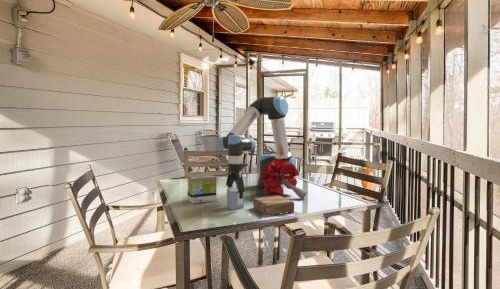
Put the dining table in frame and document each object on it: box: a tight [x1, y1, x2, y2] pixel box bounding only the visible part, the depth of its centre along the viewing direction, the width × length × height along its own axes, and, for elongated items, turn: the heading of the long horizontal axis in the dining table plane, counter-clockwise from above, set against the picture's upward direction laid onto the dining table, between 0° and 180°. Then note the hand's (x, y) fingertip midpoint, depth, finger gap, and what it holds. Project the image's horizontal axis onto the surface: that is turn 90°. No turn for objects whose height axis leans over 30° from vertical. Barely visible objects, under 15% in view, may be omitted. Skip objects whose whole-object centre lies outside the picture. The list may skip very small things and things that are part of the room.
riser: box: [252, 195, 295, 217], centre depth 168 cm, size 16×16×6 cm
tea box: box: [187, 174, 217, 204], centre depth 187 cm, size 15×10×15 cm, turn 117°
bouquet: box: [261, 160, 308, 200], centre depth 196 cm, size 22×24×30 cm
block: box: [226, 187, 245, 211], centre depth 173 cm, size 7×7×10 cm
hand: (235, 201), depth 173 cm, fingers open, 13 cm apart
